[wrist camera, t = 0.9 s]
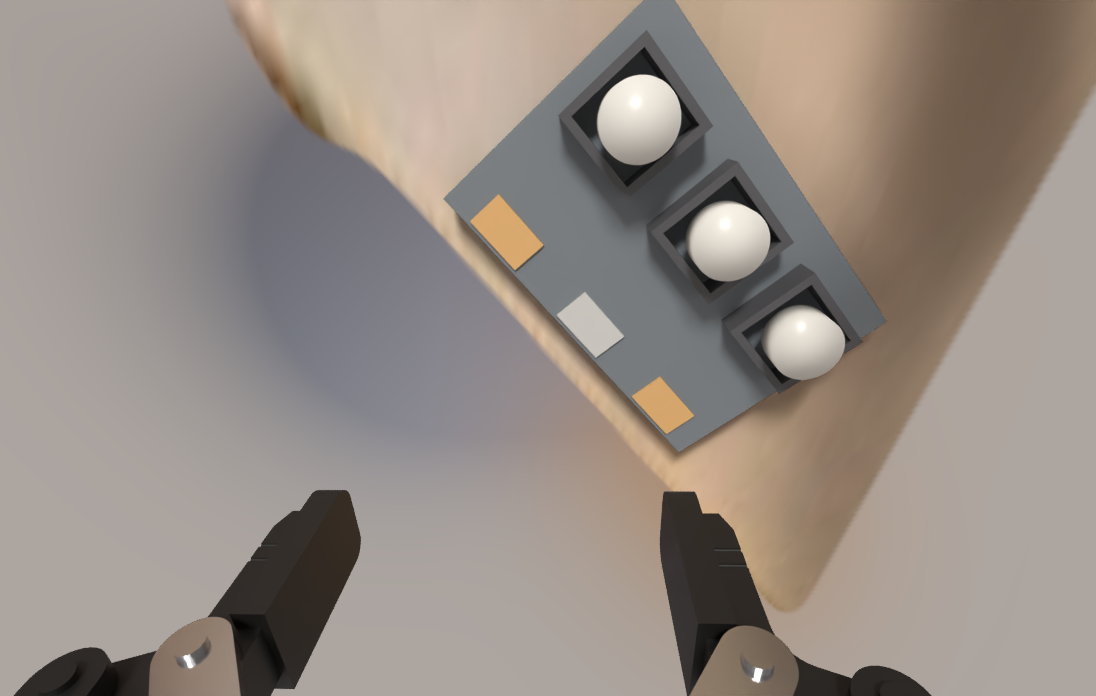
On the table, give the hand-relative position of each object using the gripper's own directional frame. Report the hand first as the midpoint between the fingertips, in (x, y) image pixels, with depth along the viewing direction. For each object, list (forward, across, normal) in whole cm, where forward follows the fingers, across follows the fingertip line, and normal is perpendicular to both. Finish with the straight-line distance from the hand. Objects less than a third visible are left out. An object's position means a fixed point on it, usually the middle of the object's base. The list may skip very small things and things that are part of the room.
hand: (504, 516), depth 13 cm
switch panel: (+23, -8, -1) cm, 24 cm away
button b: (+19, -10, -2) cm, 22 cm away
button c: (+19, -15, +4) cm, 25 cm away
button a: (+19, -5, -9) cm, 22 cm away
